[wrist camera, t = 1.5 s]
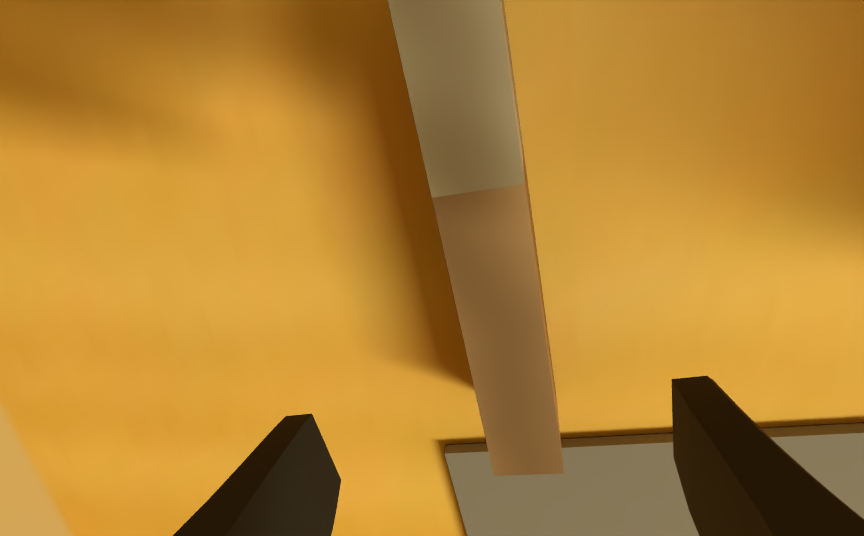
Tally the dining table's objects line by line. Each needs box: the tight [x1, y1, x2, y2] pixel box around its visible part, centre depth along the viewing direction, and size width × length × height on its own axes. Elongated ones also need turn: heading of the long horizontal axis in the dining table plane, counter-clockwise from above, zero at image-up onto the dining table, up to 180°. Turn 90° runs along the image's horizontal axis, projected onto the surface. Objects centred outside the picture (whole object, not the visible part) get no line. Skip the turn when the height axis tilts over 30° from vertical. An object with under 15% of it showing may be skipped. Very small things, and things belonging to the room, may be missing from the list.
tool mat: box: [444, 423, 864, 536], centre depth 24 cm, size 22×9×1 cm, turn 102°
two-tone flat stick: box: [388, 0, 564, 476], centre depth 17 cm, size 2×16×4 cm, turn 12°
